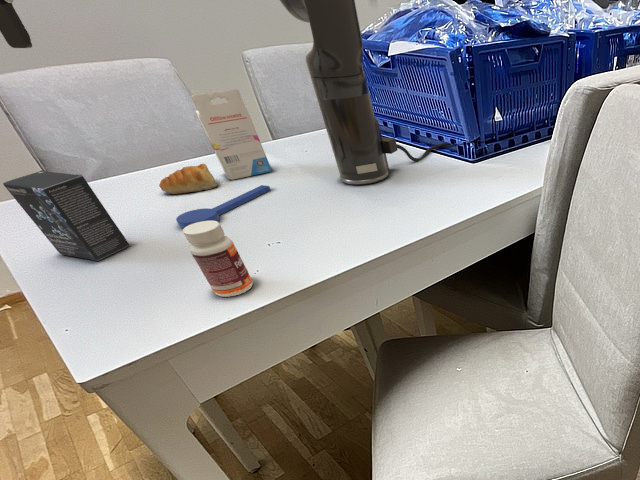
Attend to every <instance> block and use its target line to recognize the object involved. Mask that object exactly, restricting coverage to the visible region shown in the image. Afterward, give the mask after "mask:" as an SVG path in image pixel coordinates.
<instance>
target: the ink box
mask: <svg viewBox="0 0 640 480" xmlns="http://www.w3.org/2000/svg"><path fill="white" fill-rule="evenodd" d="M216 98H219V99H226V101H222V102H215V103H212V102H211V101H212V100H216ZM191 100H192V102H193V104H194V106H195V107H196V110H195V113H196V116H197V118H198V120H199V122H200V124H201V126H202V129H203V131H204V133H205V135H206V138H207V139H208V141H209V142H210V145H211V147H212V149H213V151H214V153H215V155H216V156H215V157H217V159H218V162H219V164H220V165H221V168H222V170H223V172H224V175H225V176H226V177H227V178H228V179H229V180H230V181H233V180H237V179H243V178H247V177H253V176H256V175H261V174H266V173H271V172H273V169H272V167H271V165H270V161H269V160H268V157H267V155H266V152H265V150H264V147H263V145H262V142H261V140H260V138H259V135H258V132H257V130H256V127H255V125H254V123H253V120H252V118H251V116H250V113H249V110H248V108H247V107H246V106H245V105H246V104H245V102H244V101H243V98H242V96H241V93H240V91H239V89H238V88H232V89H223V90H216V91H209V92H202V93H193V94H192V95H191Z"/></svg>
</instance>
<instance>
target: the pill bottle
mask: <svg viewBox="0 0 640 480" xmlns="http://www.w3.org/2000/svg"><path fill="white" fill-rule="evenodd" d="M182 234H183V235H184V237H185V239H186V241H187V242H188V243H189V244H190V245H189V252H190V254H191V255H192V258H193V259H194V260H195V262H196V264H197V265H198V267H199V269H200V271H201V273H202V274H203V276H204V277H205V279H206V281H207V282H208V284H209V286H210V287H211V289H212V291H213V293H214V294H215V295H216V296H219V297H225V298H227V297H228V298H229V297H235V296H239V295H241V294H244V293H246V292H247V291H249V290H250V289H251V288H252V287H253V285H254V281H253V279H252V277H251V275H250V273H249V271H248V269H247V267H246V265H245V262H244V261H243V259H242V257H241V256H240V254H239V252H238V250H237V247H236V245H235V243H234V241H233V240H232V239H231V238H230V237H229V236H227V235H225V231H224V228H223V227H222V225H221V224H220V222H219V221H218V222H217V221H201V222H197V223H194V224H191V225H188V226H187V227H185V228H184V229H182Z"/></svg>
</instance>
